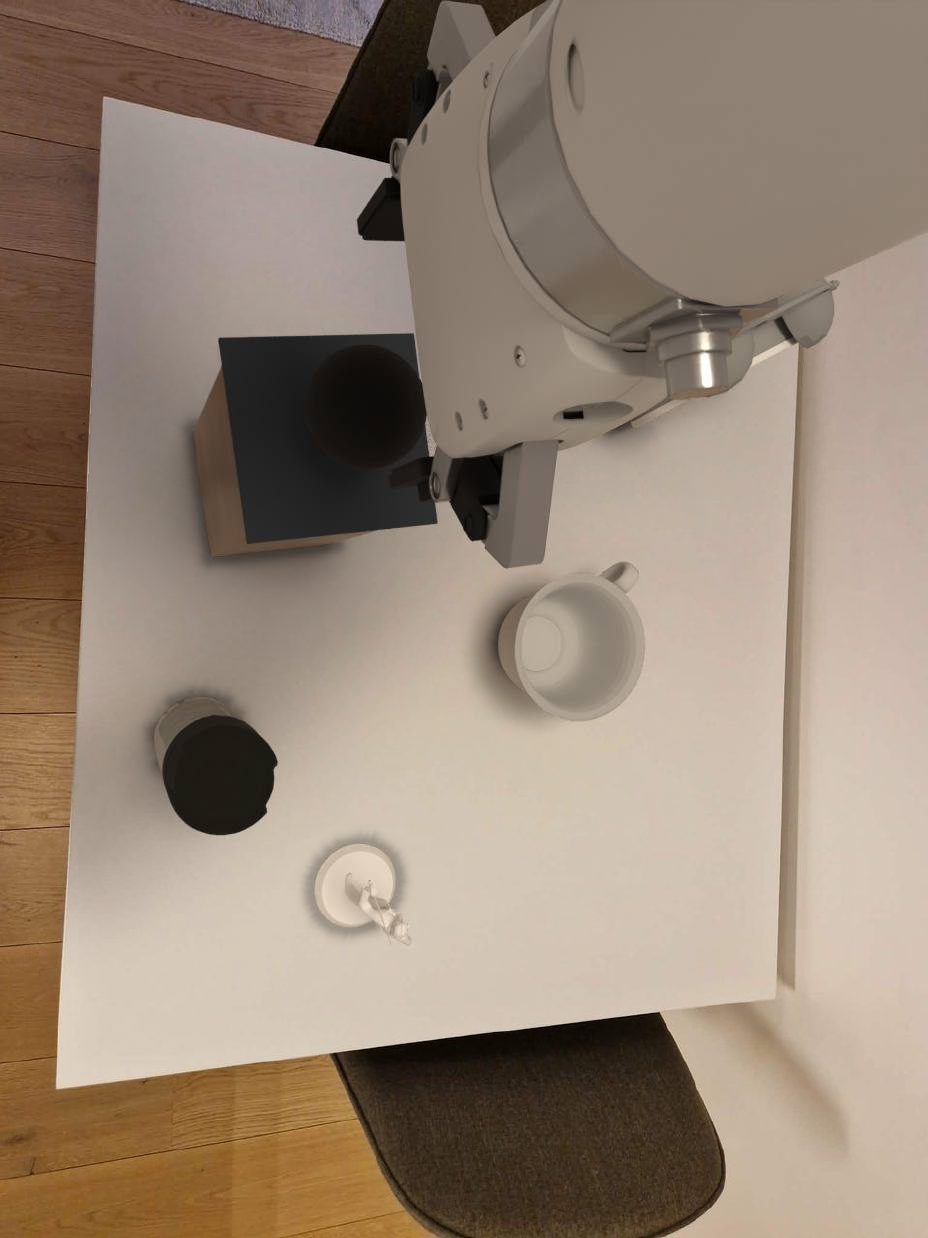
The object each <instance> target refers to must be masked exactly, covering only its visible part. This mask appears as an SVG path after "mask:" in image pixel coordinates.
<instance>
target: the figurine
mask: <svg viewBox="0 0 928 1238" xmlns="http://www.w3.org/2000/svg"><path fill="white" fill-rule="evenodd" d="M396 880H397V879H396V872H395V868H394V865H393V864H392V861H391V859H390V858H389V857H388V856H387V854H386V853H385V852H384V851H382V849H380V848H378V847H376V846H374V845H371V844H366V843H352V844H347V845H345V846H343V847H340V848H338V849H336V850H335V851H334V852H332V853H331V854H330V855H329V856H328V857H327V858H326V859H325V860H324V861H323V863H322V864H321V865H320V868H319V869H318V871H317V874H316V876H315V880H314V888H313V891H314V893H313V894H314V899H315V902H316V906H317V908H318V909H319V912H320V913H321V914H322V915H323V916H324V918H325V919H326V920H328V921H329V922H331V923H332V924H334V925H337V926H339V927H344V928H357V927H361V926H365V925H367V924H369V923H372V922H373V923H374V925H376V926H378V927H380V928H381V930H382V931H383V932H384V933H385V935H386V936H387V940H388V942H389V945H390V947H391V950H392V951H393V950H394V948H393V945H392V941H391V938H393V939H395V940H396V941H397V942H399V943H401V944H404V945H406V946H407V947H409V946H410V945H411V944H412V938H411V936H410V935H409V933H408V929H409V928H410V926H411V925H410V924H409V923H407V922H406V921H405V918H404V916H403V913H401V912H400V911H397V910H396V909H394V908H392V907H391V905H390V903H391V901H392V899H393V897H394V894H395V890H396V883H397V881H396ZM390 937H391V938H390Z"/></svg>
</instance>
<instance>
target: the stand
mask: <svg viewBox="0 0 928 1238" xmlns="http://www.w3.org/2000/svg"><path fill="white" fill-rule="evenodd" d="M192 434H193V435H192V436H193V442H194V450H195V455H196V456H195V457H196V462H197V470H198V476H199V477H198V478H199V485H200V490H201V499H202V505H203V511H204V519H205V526H206V534H207V540H208V546H209V554H210V557H212V558H213V557H220V556H221V557H222V556H223V557H224V556H231V555H241V554H249V553H259V552H267V551H275V550H285V549H293V548H305V547H312V546H313V547H314V546H321V545H331V544H335V543H336V544H337V543H339V542H343V541H346V540H350V539H353V538H356V537H359V536H363V535H366V534H370V533H373V532H378V530H375V531H366V532H356V533H347V534H338V535H328V536H319V537H310V538H300V539H291V540H281V541H272V542H263V543H253V544H247V543H246V535H245V528H244V521H243V514H242V507H241V500H240V493H239V485H238V478H237V471H236V464H235V457H234V450H233V443H232V435H231V428H230V421H229V414H228V407H227V400H226V393H225V385H224V378H223V371H222V366H221V367H220V369H219V371H218V373H217V376H216V378H215V380H214V382H213V385H212V387H211V390H210V392H209V394H208V396H207V399H206V401H205V402H204V405H203V408H202V410H201V413H200V414H199V417H198V419H197V421H196V424H195V426H194V428H193V430H192Z"/></svg>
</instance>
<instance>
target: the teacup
mask: <svg viewBox="0 0 928 1238" xmlns="http://www.w3.org/2000/svg"><path fill="white" fill-rule="evenodd" d="M639 574H640V573H639V571H638V568H637V567H636V566H635V565H634V564H632V563H630V562H629V561H620V562H617V563H614V564H613V565H610V567H608V568H607V569H605V570H604V571H603V572H602V573H600V575H595V574H591V573H574V574H567V575H564V576H561V577H557V578H556V579H554V580H552V581H550V582H549V583H547V584H546V585H544V586H543V587H542V588H540V589H539V590H538V591H537V592H536V593H533V594H531V595H529V596H527V597H525V598H523V599H521V601H518V603H516V604H515V605H514V606H513V607H512V608H511V609H510V610H509V611H508V613H507V615H506V616H505V618H504V620H503V622H502V623H501V627H500V630H499V634H498V640H497V641H498V643H497V651H498V657H499V660H500V664H501V666H502V669H503V670H504V672H505V674H506V675H507V677H508V678H509V679H510V681H512V683H513V684H514V685H515V686H517V687H518V688H519V689H521V690H522V691H523V692H525V693H526V694H527V695H529V697H530V698H531V699H532V700H533V702H535V703H536V705H538V706H539V707H540V708H541V709H542V710H543V711H545V712H546V713H548V714H549V715H552V716H553V717H555V718H558V719H561V720H564V721H569V722H578V723H579V722H588V721H593V720H597V719H599V718H602V717H604V716H606V715H608V714H609V713H611V712H614V710H616V709H617V708H618V707H620V706H621V705H622V703H624V702H625V701H626V700H627V699H628V697H630V695H631V694H632V692H633V691H634V689H635V687H636V685H637V683H638V681H639V679H640V677H641V673H642V671H643V667H644V661H645V654H646V637H645V630H644V626H643V625H644V624H643V621H642V619H641V615H640V614H639V612H638V610H637V608H636V606H635V604H634V603H633V601H632V600H631V599H630V597H629V596H628V593H629V592H630V591H631V590H632V589H633V588H634V587H635V585H636V583H637V582H638V580H639V578H640V577H639V576H640V575H639Z"/></svg>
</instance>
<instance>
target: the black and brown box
mask: <svg viewBox="0 0 928 1238" xmlns="http://www.w3.org/2000/svg"><path fill="white" fill-rule="evenodd" d="M415 338H416V337H415V333H414V332H407V333H406V332H405V333H365V334H363V333H361V334H359V333H358V334H323V335H322V334H321V335H320V334H319V335H316V334H315V335H277V336H276V335H275V336H274V335H273V336H230V337H226V336H225V337H224V336H223V337H218V340H217V342H218V350H219V356H220V363H221V367H222V371H223V378H224V385H225V393H226V400H227V407H228V414H229V421H230V428H231V435H232V443H233V450H234V457H235V464H236V471H237V478H238V485H239V493H240V500H241V507H242V514H243V521H244V528H245V535H246V543H247V544H253V543H263V542H272V541H281V540H291V539H300V538H310V537H319V536H328V535H338V534H347V533H356V532H366V531H374V532H376V531H375V530H377V531H384V530H393V529H403V528H411V527H422V526H430V525H437V524H439V522H438V521H439V520H438V514H437V506H436V502H420V501H419V493H418V487H409V488H398V489H390V482H389V475H391V474H392V471H391V470H393V469H395V468H397V467H400V466H402V465H404V464H407V463H409V462H411V461H413V460H416V459H418V458H422V457H429V456H430V451H429V449H430V448H429V442H428V434H427V426H426V424H425V427H424V430H423V433H422V435H421V437H420V439H419V440H418V442H417V444H416V445H415V447H414V448H413V449H412V450H411V451H410V452H409V453H408V454H407V455H406V456H404V457H403V458H402V459H400V460H399V461H397V462H396V463H394V464H392V465H389V466H386V467H383V468H378V469H357V468H352V467H349V466H346V465H343V464H341V463H339V462H337V461H335V460H334V459H333V458H331V457H330V456H328V455H327V454H326V453H325V452H324V451H323V450H322V449H321V448H320V447H319V445H318V444H317V443H316V441H315V440H314V438H313V436H312V434H311V432H310V430H309V427H308V424H307V420H306V415H305V398H306V392H307V387H308V384H309V381H310V379H311V377H312V375H313V373H314V372H315V370H316V369H317V367H318V366H319V365H320V364H321V363H322V362H323V361H324V360H325V359H327V358H328V357H329V356H330V355H331V354H333V353H335V352H336V351H338V350H341V349H343V348H346V347H349V346H353V345H376V346H381V347H384V348H387V349H389V350H391V351H393V352H395V353H397V354H398V355H400V356H401V357H402V358H404V359H405V360H406V361H407V362H408V363H409V364H410V365H411V366H412V367H413V369H414V370H415V371H416V373H417V374H418V376H419V377H420V371H419V363H418V356H417V354H418V353H417V347H416V346H417V345H416V339H415Z"/></svg>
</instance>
